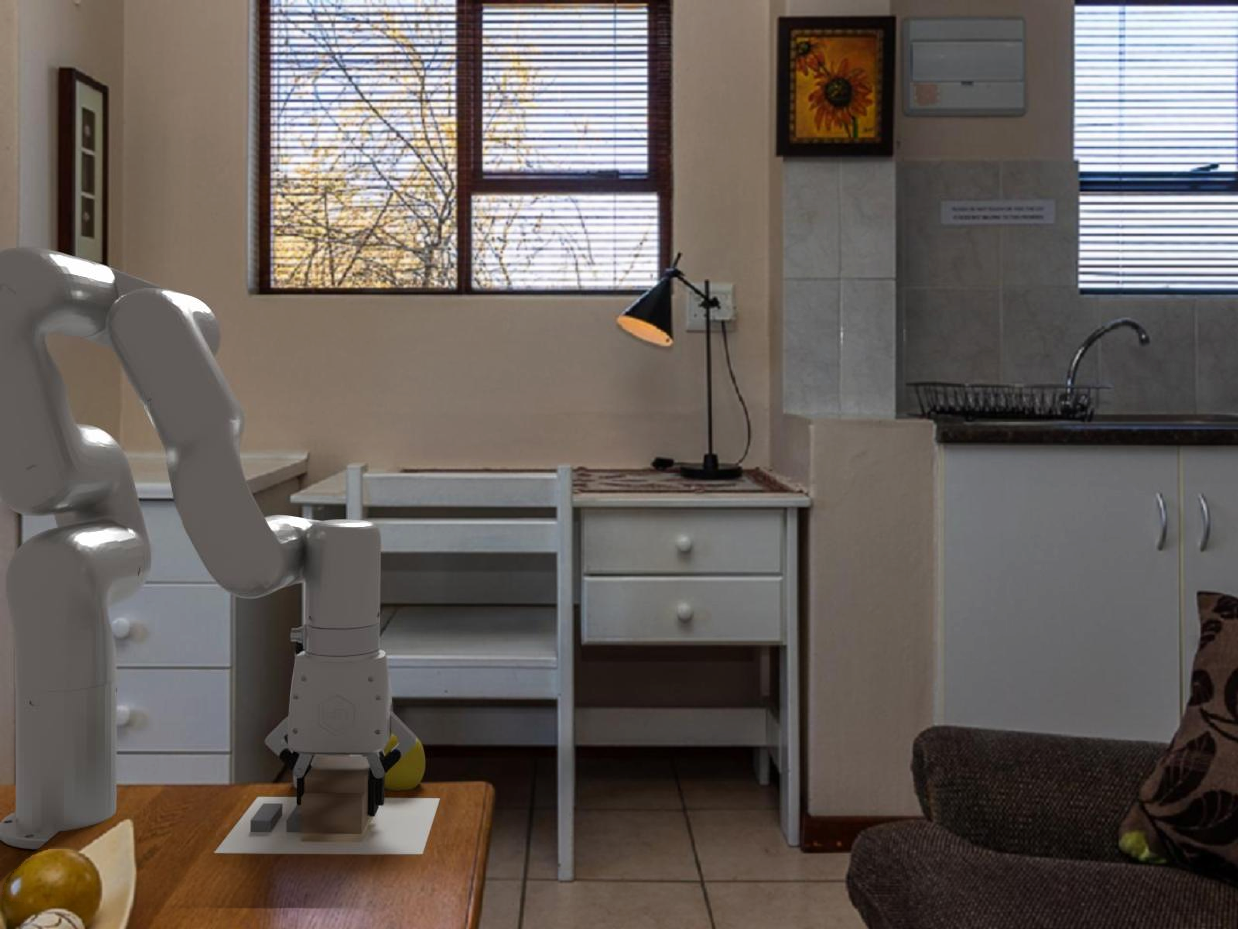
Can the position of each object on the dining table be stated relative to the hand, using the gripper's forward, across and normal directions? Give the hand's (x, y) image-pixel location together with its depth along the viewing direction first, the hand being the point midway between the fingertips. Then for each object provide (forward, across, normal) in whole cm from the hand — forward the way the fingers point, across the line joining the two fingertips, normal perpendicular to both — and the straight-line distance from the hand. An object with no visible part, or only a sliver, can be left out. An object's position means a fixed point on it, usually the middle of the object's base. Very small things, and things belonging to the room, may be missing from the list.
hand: (340, 810), depth 120 cm
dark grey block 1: (+1, -8, 0) cm, 8 cm away
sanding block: (+1, 0, 0) cm, 1 cm away
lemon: (+3, +4, +12) cm, 14 cm away
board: (+3, -1, 0) cm, 3 cm away
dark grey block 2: (+1, -4, 0) cm, 4 cm away
